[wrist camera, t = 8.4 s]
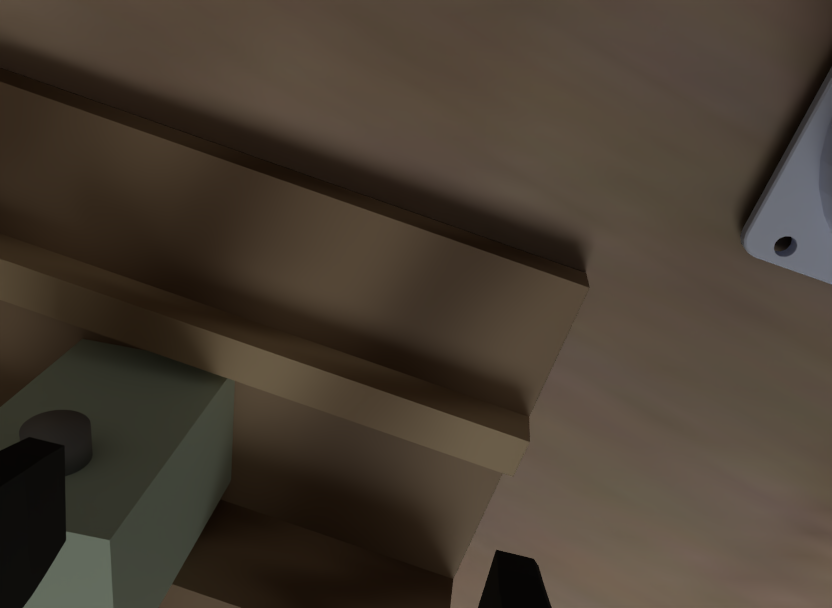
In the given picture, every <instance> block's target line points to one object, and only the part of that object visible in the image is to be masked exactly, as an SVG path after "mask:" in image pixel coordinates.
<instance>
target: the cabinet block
mask: <svg viewBox="0 0 832 608" xmlns="http://www.w3.org/2000/svg"><path fill="white" fill-rule="evenodd" d="M234 389H235V381H234V380H231V379H228V378H225V377H222V376H219V375H216V374H214V373H211V372H208V371H205V370H202V369H199V368H196V367H193V366H190V365H187V364H185V363H182V362H179V361H176V360H173V359H170V358H167V357H164V356H161V355H159V354H156V353H153V352H150V351H145V350H140V349H135V348H129V347H124V346H119V345H113V344H108V343H103V342H97V341H92V340H87V339H82V340H81V341H79V342H78V343H77V344H76V345H75V346H73V347H72V348H71V349H70V350H69V351H67V352H66V353H65V354H64V355H62V356H61V357H60V358H59V359H58V360H56V361H55V362H54V363H53V364H52V365H50V366H49V367H48V368H47V369H46V370H44V371H43V372H42V373H41V374H40V375H38V376H37V377H36V378H35V379H34V380H32V381H31V382H30V383H29V384H28V385H26V386H25V387H24V388H23V389H22V390H20V391H19V392H18V393H17V394H15V395H14V396H13V397H12V398H11V399H9V400H8V401H7V402H6V403H5V404H3V405H2V406H1V407H0V450H3V449H5V448H7V447H9V446H11V445H13V444H15V443H17V442H19V441H21V440H24V439H26V438H28V437H32V438H36V439H40V440H44V441H48V442H52V443H56V444H61V445H65V497H66V541H65V543H64V545H63V546H62V548H61V550H60V551H59V553H58V555H57V556H56V558H55V560H54V561H53V563H52V565H51V566H50V568H49V570H48V571H47V573H46V575H45V576H44V578H43V579H42V581H41V582H40V584H39V585H38V587H37V589H36V590H35V592H34V593H33V595H32V596H31V598H30V599H29V600H28V602H27V603H26V604H25V606H24V607H23V608H159V606H160V604H161V602H162V601H163V599H164V597H165V595H166V594H167V592H168V590H169V588H170V587H171V585H172V583H173V581H174V580H175V578H176V576H177V574H178V573H179V571H180V569H181V567H182V566H183V564H184V562H185V560H186V559H187V557H188V555H189V553H190V552H191V550H192V548H193V546H194V545H195V543H196V541H197V539H198V538H199V536H200V534H201V532H202V531H203V529H204V527H205V525H206V523H207V522H208V520H209V518H210V516H211V515H212V513H213V511H214V509H215V508H216V506H217V504H218V502H219V501H220V499H221V497H222V495H223V494H224V492H225V490H226V488H227V487H228V485H229V483H230V481H231V470H232V443H233V416H234Z"/></svg>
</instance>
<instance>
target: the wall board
mask: <svg viewBox="0 0 832 608" xmlns="http://www.w3.org/2000/svg"><path fill="white" fill-rule="evenodd" d="M589 288H590V287H589V283H588V279H587V274H586V273H584V272H581V271H579V270H576V269H573V268H570V267H567V266H564V265H561V264H559V263H556V262H553V261H550V260H547V259H544V258H541V257H539V256H536V255H533V254H530V253H527V252H524V251H521V250H519V249H516V248H513V247H510V246H507V245H504V244H501V243H499V242H496V241H493V240H490V239H487V238H484V237H481V236H479V235H476V234H473V233H470V232H467V231H464V230H461V229H459V228H456V227H453V226H450V225H447V224H444V223H441V222H439V221H436V220H433V219H430V218H427V217H424V216H421V215H419V214H416V213H413V212H410V211H407V210H404V209H401V208H399V207H396V206H393V205H390V204H387V203H384V202H381V201H379V200H376V199H373V198H370V197H367V196H364V195H361V194H359V193H356V192H353V191H350V190H347V189H344V188H341V187H339V186H336V185H333V184H330V183H327V182H324V181H321V180H319V179H316V178H313V177H310V176H307V175H304V174H302V173H299V172H296V171H293V170H290V169H287V168H284V167H282V166H279V165H276V164H273V163H270V162H267V161H264V160H262V159H259V158H256V157H253V156H250V155H247V154H244V153H242V152H239V151H236V150H233V149H230V148H227V147H224V146H222V145H219V144H216V143H213V142H210V141H207V140H204V139H202V138H199V137H196V136H193V135H190V134H187V133H184V132H182V131H179V130H176V129H173V128H170V127H167V126H164V125H162V124H159V123H156V122H153V121H150V120H147V119H144V118H142V117H139V116H136V115H133V114H130V113H127V112H124V111H122V110H119V109H116V108H113V107H110V106H107V105H104V104H102V103H99V102H96V101H93V100H90V99H87V98H84V97H82V96H79V95H76V94H73V93H70V92H67V91H64V90H62V89H59V88H56V87H53V86H50V85H47V84H44V83H42V82H39V81H36V80H33V79H30V78H27V77H25V76H22V75H19V74H16V73H13V72H10V71H7V70H5V69H2V68H0V407H1V406H2V405H3V404H5V403H6V402H7V401H8V400H9V399H11V398H12V397H13V396H14V395H15V394H17V393H18V392H19V391H20V390H22V389H23V388H24V387H25V386H26V385H28V384H29V383H30V382H31V381H32V380H34V379H35V378H36V377H37V376H38V375H40V374H41V373H42V372H43V371H44V370H46V369H47V368H48V367H49V366H50V365H52V364H53V363H54V362H55V361H56V360H58V359H59V358H60V357H61V356H62V355H64V354H65V353H66V352H67V351H69V350H70V349H71V348H72V347H73V346H75V345H76V344H77V343H78V342H79V341H81V340H82V339H87V340H92V341H97V342H103V343H108V344H113V345H119V346H124V347H129V348H135V349H140V350H145V351H150V352H153V353H156V354H159V355H161V356H164V357H167V358H170V359H173V360H176V361H179V362H182V363H185V364H187V365H190V366H193V367H196V368H199V369H202V370H205V371H208V372H211V373H214V374H216V375H219V376H222V377H225V378H228V379H231V380H234V381H235V389H234V416H233V443H232V470H231V481H230V483H229V485H228V487H227V488H226V490H225V492H224V494H223V495H222V497H221V499H220V501H219V502H218V504H217V506H216V508H215V509H214V511H213V513H212V515H211V516H210V518H209V520H208V522H207V523H206V525H205V527H204V529H203V531H202V532H201V534H200V536H199V538H198V539H197V541H196V543H195V545H194V546H193V548H192V550H191V552H190V553H189V555H188V557H187V559H186V560H185V562H184V564H183V566H182V567H181V569H180V571H179V573H178V574H177V576H176V578H175V580H174V581H173V583H172V585H171V587H170V588H169V590H168V592H167V594H166V595H165V597H164V599H163V601H162V602H161V604H160V606H159V608H450V604H451V594H452V585H453V578H454V576H455V574H456V572H457V570H458V568H459V565H460V563H461V561H462V559H463V557H464V555H465V553H466V551H467V548H468V546H469V544H470V542H471V540H472V538H473V536H474V533H475V531H476V529H477V527H478V525H479V523H480V521H481V519H482V516H483V514H484V512H485V510H486V508H487V506H488V504H489V501H490V499H491V497H492V495H493V493H494V491H495V489H496V487H497V484H498V482H499V480H500V478H501V476H502V474H506V475H509V476H512V477H513V476H514V474H515V472H516V470H517V468H518V466H519V463H520V461H521V459H522V457H523V455H524V453H525V451H526V449H527V447H528V445H529V443H530V432H529V416H530V414H531V412H532V410H533V408H534V405H535V403H536V401H537V399H538V397H539V395H540V393H541V390H542V388H543V386H544V384H545V382H546V380H547V378H548V375H549V373H550V371H551V369H552V367H553V365H554V363H555V361H556V358H557V356H558V354H559V352H560V350H561V348H562V346H563V343H564V341H565V339H566V337H567V335H568V333H569V331H570V329H571V326H572V324H573V322H574V320H575V318H576V316H577V314H578V311H579V309H580V307H581V305H582V303H583V301H584V299H585V296H586V294H587V292H588V290H589Z"/></svg>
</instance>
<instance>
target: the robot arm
mask: <svg viewBox="0 0 832 608" xmlns="http://www.w3.org/2000/svg"><path fill="white" fill-rule="evenodd" d="M785 236H789V237H791V238H792V241H791V245H790V246H789V247H788V248H787V249H786V250H783V251H774V245H775V243H776V242H777V240H778V239H779V238H782V237H785ZM740 237H741V244H742V245H743V247H744V248H745V250H746V251H747V252H748V253H749V254H750V255H752V256H754V257H756V258H758V259H761V260H764V261H767V262H770V263H773V264H776V265H778V266H781V267H784V268H787V269H790V270H793V271H795V272H798V273H801V274H804V275H807V276H810V277H812V278H815V279H818V280H821V281H824V282H827V283H830V284H832V67H831V69H830V71H829V72H828V74H827V76H826V78H825V80H824V81H823V83H822V85H821V87H820V89H819V91H818V92H817V94H816V96H815V98H814V100H813V101H812V103H811V105H810V107H809V109H808V111H807V112H806V114H805V116H804V118H803V120H802V122H801V123H800V125H799V127H798V129H797V131H796V132H795V134H794V136H793V138H792V140H791V142H790V143H789V145H788V147H787V149H786V151H785V152H784V154H783V156H782V158H781V160H780V162H779V163H778V165H777V167H776V169H775V171H774V173H773V174H772V176H771V178H770V180H769V182H768V183H767V185H766V187H765V189H764V191H763V193H762V194H761V196H760V198H759V200H758V202H757V203H756V205H755V207H754V209H753V211H752V213H751V214H750V216H749V218H748V220H747V222H746V223H745V225H744V227H743V229H742V232H741V236H740ZM65 541H66V497H65V445H61V444H56V443H52V442H48V441H44V440H40V439H36V438H32V437H28V438H26V439H24V440H21V441H19V442H17V443H15V444H13V445H11V446H9V447H7V448H5V449H3V450H0V608H23V607H24V606H25V604H26V603H27V602H28V600H29V599H30V598H31V596H32V595H33V593H34V592H35V590H36V589H37V587H38V585H39V584H40V582H41V581H42V579H43V578H44V576H45V575H46V573H47V571H48V570H49V568H50V566H51V565H52V563H53V561H54V560H55V558H56V556H57V555H58V553H59V551H60V550H61V548H62V546H63V545H64V543H65ZM478 608H552V607H551V604H550V602H549V599H548V596H547V593H546V590H545V586H544V583H543V580H542V577H541V573H540V570H539V566H538V565H537V563H536V562H535V560H534V559H532V558H528V557H524V556H520V555H516V554H512V553H507V552H503V551H499V550H496V552H495V555H494V558H493V562H492V565H491V568H490V571H489V574H488V577H487V581H486V584H485V587H484V590H483V593H482V597H481V600H480V603H479V606H478Z"/></svg>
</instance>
